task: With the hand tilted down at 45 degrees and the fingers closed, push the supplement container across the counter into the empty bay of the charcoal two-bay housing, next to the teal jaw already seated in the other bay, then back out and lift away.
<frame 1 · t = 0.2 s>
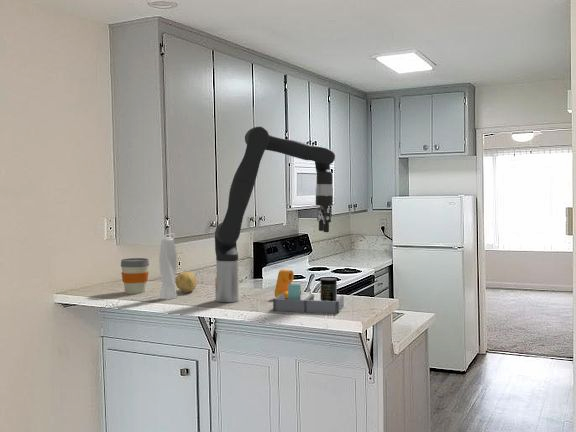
hand: (323, 231, 273), 28 cm above the counter, tool pointing down, fingers open, 8 cm apart
potato: (187, 292, 285), on the counter
reusable coffee cup: (135, 292, 284), on the counter
housing: (324, 308, 245), on the counter
bracket: (288, 298, 270), on the counter
supplement container: (328, 304, 254), on the counter
skyscraper: (168, 298, 269), on the counter
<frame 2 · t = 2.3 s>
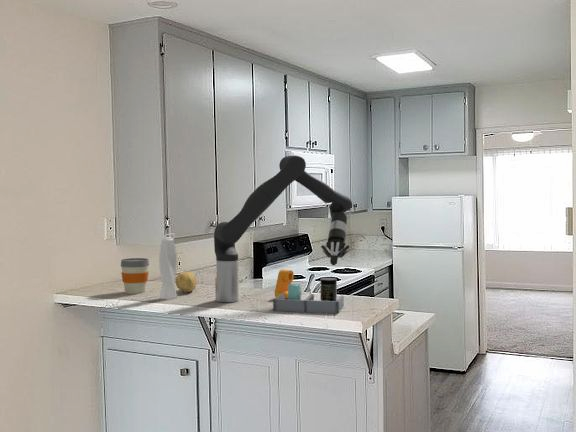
hand: (333, 264, 265), 15 cm above the counter, tool tilted 45°, fingers closed
nothing on the counter moved.
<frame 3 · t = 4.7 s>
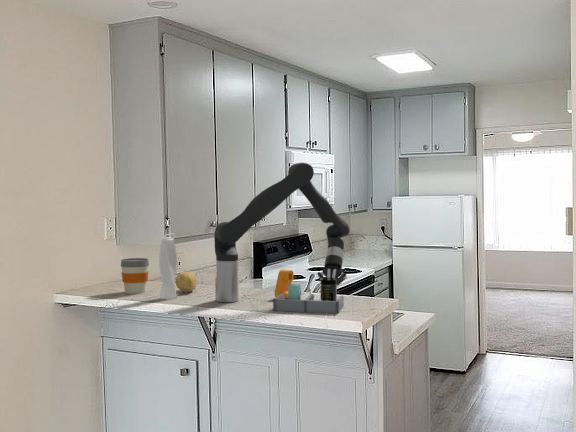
hand: (329, 292, 258), 4 cm above the counter, tool tilted 45°, fingers closed
supplement container: (328, 304, 254), on the counter, touching gripper
everything else where it was.
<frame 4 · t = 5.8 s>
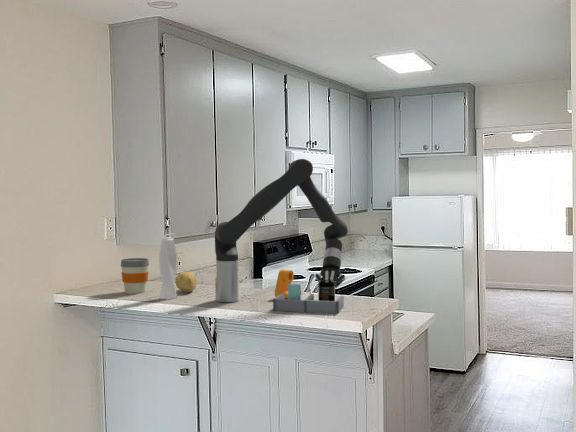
hand: (328, 294, 252), 4 cm above the counter, tool tilted 45°, fingers closed
supplement container: (326, 307, 248), on the counter, touching gripper
everything else where it was.
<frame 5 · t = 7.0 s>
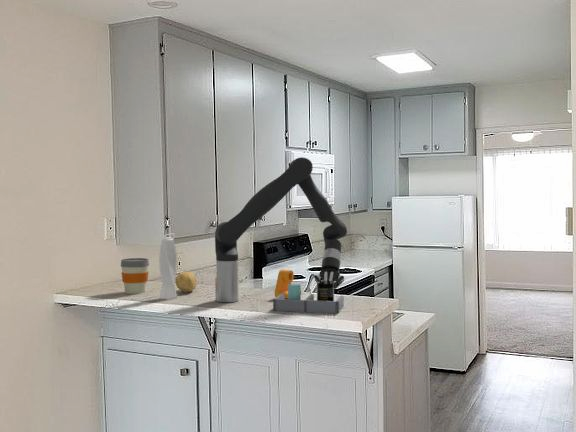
hand: (326, 295, 249), 4 cm above the counter, tool tilted 45°, fingers closed
supplement container: (325, 309, 245), on the counter, touching gripper
everything else where it was.
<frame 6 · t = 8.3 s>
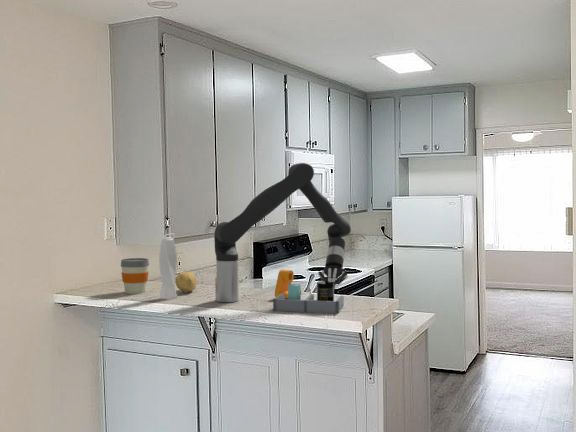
hand: (330, 291, 258), 5 cm above the counter, tool tilted 45°, fingers closed
supplement container: (325, 309, 245), on the counter
everything else where it was.
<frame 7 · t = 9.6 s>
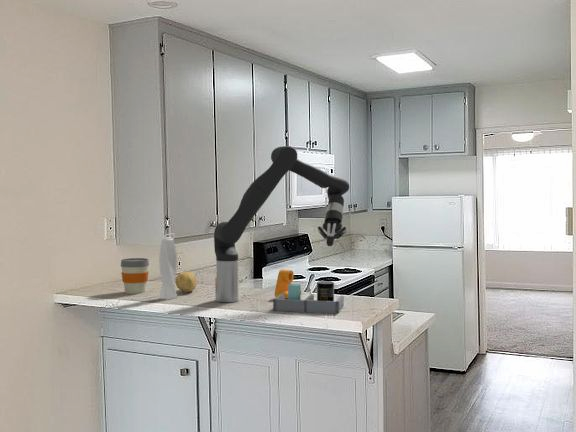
hand: (329, 245, 263), 23 cm above the counter, tool tilted 45°, fingers closed
nothing on the counter moved.
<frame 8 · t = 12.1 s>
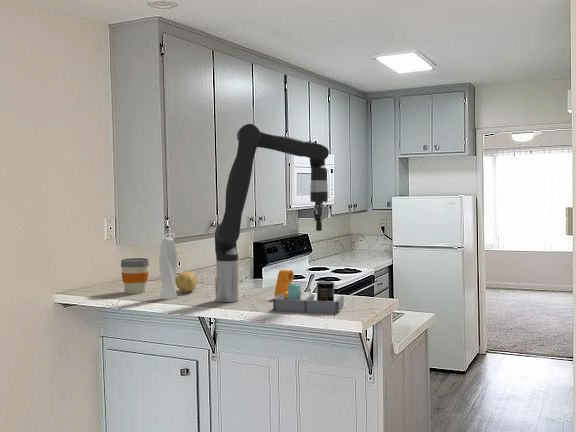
hand: (318, 230, 270), 29 cm above the counter, tool pointing down, fingers closed
nothing on the counter moved.
at the end: supplement container inside the target area on the housing (0.6 cm from its centre), point 0.0 cm above the housing's base; supplement container tilted 1°; supplement container touching counter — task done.
